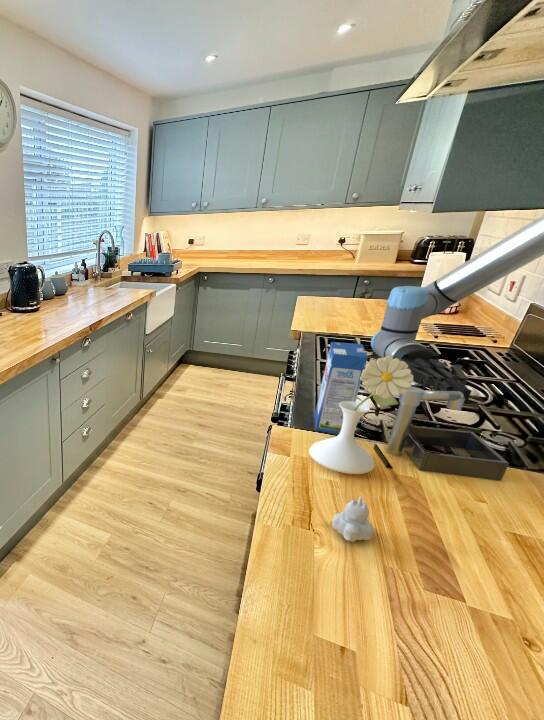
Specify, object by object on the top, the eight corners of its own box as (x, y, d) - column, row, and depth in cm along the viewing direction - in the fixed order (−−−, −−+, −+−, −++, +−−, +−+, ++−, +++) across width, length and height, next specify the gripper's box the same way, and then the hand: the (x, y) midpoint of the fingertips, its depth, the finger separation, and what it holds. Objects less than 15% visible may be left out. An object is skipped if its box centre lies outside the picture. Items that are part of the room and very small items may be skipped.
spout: (454, 404, 85) (460, 387, 83) (466, 411, 82) (473, 393, 80) (394, 403, 87) (399, 386, 85) (403, 410, 84) (409, 392, 82)
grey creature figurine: (370, 532, 71) (383, 494, 68) (367, 556, 66) (380, 516, 63) (332, 519, 74) (342, 482, 71) (326, 541, 70) (337, 502, 67)
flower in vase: (302, 467, 89) (328, 357, 79) (312, 444, 97) (336, 341, 87) (380, 489, 81) (419, 370, 71) (384, 462, 89) (419, 351, 79)
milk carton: (346, 435, 99) (367, 356, 92) (315, 430, 102) (333, 353, 95) (343, 418, 107) (362, 344, 99) (314, 413, 110) (331, 341, 102)
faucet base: (395, 450, 92) (412, 396, 87) (410, 470, 86) (430, 413, 80) (373, 448, 94) (389, 394, 89) (386, 467, 87) (404, 410, 82)
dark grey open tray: (464, 454, 90) (473, 431, 88) (498, 488, 79) (509, 463, 77) (393, 446, 94) (400, 424, 92) (416, 477, 84) (424, 453, 82)
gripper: (438, 374, 102) (500, 416, 82) (376, 370, 106) (420, 410, 86) (448, 344, 99) (514, 381, 79) (383, 342, 104) (431, 377, 83)
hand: (465, 396), depth 83 cm, fingers closed
